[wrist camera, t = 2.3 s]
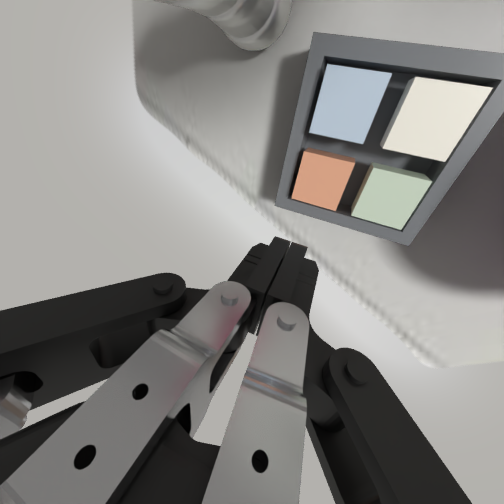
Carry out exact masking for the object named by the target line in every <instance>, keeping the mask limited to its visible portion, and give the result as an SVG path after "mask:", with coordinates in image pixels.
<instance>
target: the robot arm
mask: <svg viewBox="0 0 504 504" xmlns="http://www.w3.org/2000/svg"><path fill="white" fill-rule="evenodd" d="M289 245H290V241H288V240H284V239H282V238H279V237H274V239H273V240H272V242H271V243H270V245H269V246H268V245H265V244H263V243H259V244H257V245H255V246H253V247H252V248H251V249H250V251H249V252H248V254H247V255H246V256H245V258H244V259H243V260H242V262H241V263H240V264H239V266H238V267H237V268H236V270H235V271H234V272H233V274H232V275H231V276H230V278H229V279H228V281H224V282H220V283H218V284H216V285H215V286H213V287H212V288H211V289H210V290H203V289H194V288H186V284H185V281H184V280H183V279H182V277H180V276H179V275H176V274H173V273H160V274H155V275H151V276H147V277H143V278H138V279H134V280H130V281H126V282H121V283H117V284H113V285H108V286H105V287H100V288H95V289H91V290H87V291H83V292H78V293H74V294H70V295H66V296H61V297H57V298H53V299H49V300H44V301H40V302H36V303H31V304H27V305H23V306H19V307H14V308H10V309H6V310H2V311H0V504H299V494H300V483H301V472H302V460H303V448H304V437H305V427H306V428H307V430H308V433H309V436H310V438H311V441H312V443H313V446H314V448H315V451H316V454H317V456H318V459H319V462H320V464H321V467H322V469H323V472H324V475H325V477H326V480H327V483H328V485H329V487H330V490H331V493H332V495H333V498H334V501H335V503H336V504H472V503H471V501H470V500H469V499H468V497H467V496H466V494H465V493H464V491H463V490H462V489H461V487H460V486H459V484H458V483H457V481H456V480H455V479H454V477H453V476H452V474H451V473H450V471H449V470H448V469H447V467H446V466H445V464H444V463H443V462H442V460H441V459H440V457H439V456H438V454H437V453H436V452H435V450H434V449H433V447H432V446H431V444H430V443H429V442H428V440H427V439H426V437H425V436H424V435H423V433H422V432H421V430H420V429H419V427H418V426H417V424H416V423H415V422H414V420H413V419H412V417H411V416H410V415H409V413H408V412H407V410H406V409H405V407H404V406H403V405H402V403H401V402H400V400H399V399H398V397H397V396H396V395H395V393H394V392H393V390H392V389H391V387H390V386H389V385H388V383H387V382H386V380H385V379H384V377H383V376H382V375H381V373H380V372H379V370H378V369H377V368H376V366H375V365H374V364H373V362H372V361H371V360H370V359H368V358H367V357H366V356H365V355H363V354H362V353H360V352H358V351H356V350H354V349H351V348H339V349H337V350H335V349H334V348H332V347H331V346H330V345H329V344H327V343H326V342H324V341H323V340H322V339H321V338H320V337H319V336H318V335H317V334H316V333H315V332H314V330H313V329H312V327H311V324H310V321H309V313H310V308H311V303H312V299H313V295H314V290H315V285H316V281H317V276H318V272H319V270H318V267H317V264H316V262H315V261H312V260H309V259H306V258H304V256H305V253H306V251H307V248H308V247H306V246H303V245H300V244H297V243H294V242H292V243H291V245H290V247H289ZM259 322H260V323H259ZM258 324H259V327H258V330H257V334H256V336H258V337H257V340H256V343H255V347H254V350H253V353H252V356H251V359H250V362H249V365H248V368H247V371H246V373H245V375H244V378H243V381H242V384H241V387H240V390H239V393H238V396H237V399H236V402H235V405H234V408H233V411H232V414H231V417H230V420H229V423H228V426H227V429H226V432H225V435H224V438H223V442H222V444H221V446H217V445H212V444H206V443H201V442H197V441H195V440H193V439H192V438H193V436H194V434H195V433H196V431H197V429H198V428H199V426H200V424H201V422H202V420H203V418H204V416H205V414H206V412H207V409H208V406H209V404H210V402H211V399H212V397H213V396H214V394H215V391H216V390H217V388H218V387H219V385H220V383H221V381H222V380H223V378H224V376H225V375H226V373H227V371H228V369H229V367H230V366H231V364H232V362H233V361H234V359H235V357H236V355H237V354H238V352H239V350H240V348H241V345H242V343H243V342H244V339H245V337H246V335H247V333H248V332H249V333H252V334H254V333H255V331H256V329H257V326H258ZM108 378H109V379H108ZM105 379H108V380H107V381H106V382H105V383H104V384H103V385H102V386H101V387H100V388H99V389H98V390H97V391H96V392H95V393H94V394H93V395H92V396H91V397H90V398H89V399H88V400H87V401H85V402H81V403H78V404H76V405H74V406H72V407H69V408H67V409H65V410H63V411H61V412H59V413H56V414H54V415H52V416H50V417H48V418H45V419H43V420H41V421H39V422H37V423H35V424H32V425H30V426H28V427H26V428H24V429H22V430H20V429H21V428H22V427H23V426H24V424H25V422H26V419H27V413H28V411H29V410H32V409H34V408H37V407H39V406H42V405H44V404H46V403H49V402H51V401H54V400H56V399H59V398H61V397H64V396H66V395H69V394H71V393H73V392H76V391H78V390H81V389H83V388H86V387H88V386H91V385H93V384H95V383H98V382H100V381H103V380H105Z"/></svg>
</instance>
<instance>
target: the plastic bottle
mask: <svg viewBox="0 0 504 504" xmlns="http://www.w3.org/2000/svg"><path fill="white" fill-rule="evenodd" d="M155 1H159V2H163V3H167V4H171V5H175V6H179V7H183V8H187V9H190V10H192V11H194V12H197V13H199V14H201V15H203V16H205V17H207V18H209V19H210V20H212V21H213V22H214V23H215V24H216V25H218V26H219V27H220V28H221V29H222V31H223V32H224V33H225V35H226V36H227V37H228V38H229V39H230V40H231V41H232V42H233V43H234V44H235V45H237V46H238V47H240V48H242V49H244V50H249V51H253V50H262V49H265V48H267V47H269V46H270V45H272V44H273V43H274V42H275V41H276V40H277V39H278V38H279V36H280V35H281V34H282V32H283V30H284V28H285V26H286V24H287V22H288V18H289V15H290V12H291V6H292V0H155Z"/></svg>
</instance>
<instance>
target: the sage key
mask: <svg viewBox="0 0 504 504" xmlns="http://www.w3.org/2000/svg"><path fill="white" fill-rule="evenodd" d="M431 183H432V181H431V180H430V179H429V178H428V177H427V176H426V175H425V174H422V173H417V172H413V171H409V170H404V169H400V168H396V167H391V166H387V165H383V164H378V163H374V162H371V165H370V167H369V169H368V171H367V173H366V176H365V178H364V180H363V182H362V184H361V187H360V189H359V191H358V193H357V195H356V198H355V200H354V202H353V204H352V206H351V216H354V217H358V218H361V219H365V220H368V221H372V222H375V223H379V224H382V225H386V226H389V227H393V228H396V229H400V230H401V229H402V228H403V226H404V225H405V223H406V222H407V220H408V219H409V217H410V216H411V214H412V212H413V211H414V209H415V208H416V206H417V205H418V203H419V202H420V200H421V199H422V197H423V195H424V194H425V192H426V191H427V189H428V188H429V186H430V185H431Z"/></svg>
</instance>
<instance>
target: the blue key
mask: <svg viewBox="0 0 504 504" xmlns="http://www.w3.org/2000/svg"><path fill="white" fill-rule="evenodd" d="M391 75H392V73H387V72H380V71H373V70H366V69H359V68H352V67H345V66H338V65H331V64H327V67H326V71H325V75H324V79H323V82H322V86H321V90H320V93H319V97H318V101H317V105H316V108H315V112H314V116H313V120H312V123H311V127H310V131H309V133H313V134H318V135H323V136H327V137H332V138H337V139H341V140H346V141H350V142H355V143H360V144H363V143H364V141H365V138H366V136H367V133H368V131H369V129H370V126H371V124H372V121H373V119H374V116H375V114H376V112H377V109H378V107H379V104H380V102H381V99H382V97H383V95H384V92H385V90H386V87H387V85H388V82H389V80H390V78H391Z"/></svg>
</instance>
